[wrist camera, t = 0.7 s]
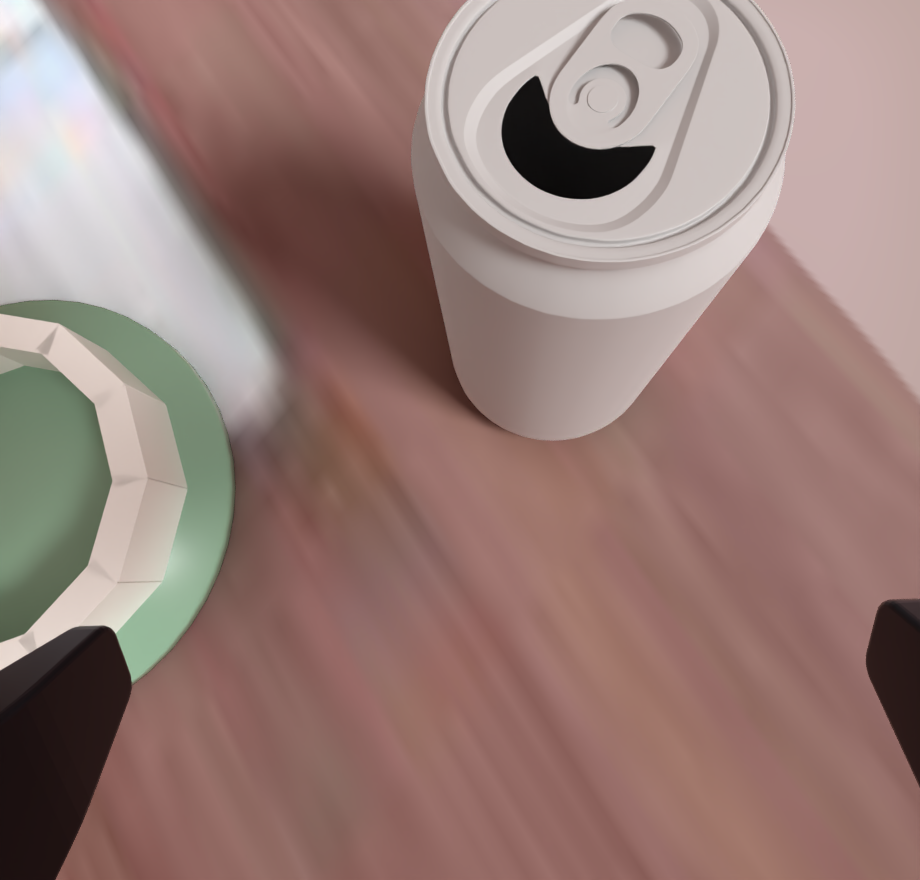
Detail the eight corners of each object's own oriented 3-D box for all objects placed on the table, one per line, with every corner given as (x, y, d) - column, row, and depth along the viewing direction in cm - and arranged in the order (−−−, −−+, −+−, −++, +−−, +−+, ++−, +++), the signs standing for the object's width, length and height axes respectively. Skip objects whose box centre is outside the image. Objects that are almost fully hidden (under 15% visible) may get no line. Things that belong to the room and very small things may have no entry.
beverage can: (415, 371, 22) (313, 136, 10) (528, 228, 23) (558, -147, 11) (572, 485, 21) (665, 370, 9) (685, 330, 21) (908, 38, 10)
